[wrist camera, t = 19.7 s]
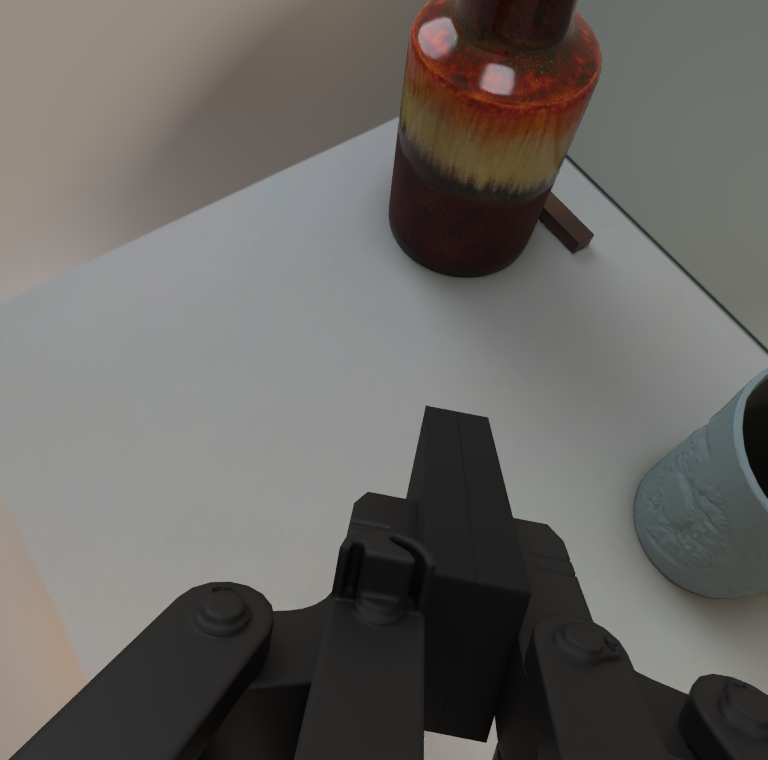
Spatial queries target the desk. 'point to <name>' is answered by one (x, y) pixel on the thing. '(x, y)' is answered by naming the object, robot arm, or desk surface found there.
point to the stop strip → (565, 224)
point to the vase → (486, 126)
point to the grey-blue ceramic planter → (713, 502)
